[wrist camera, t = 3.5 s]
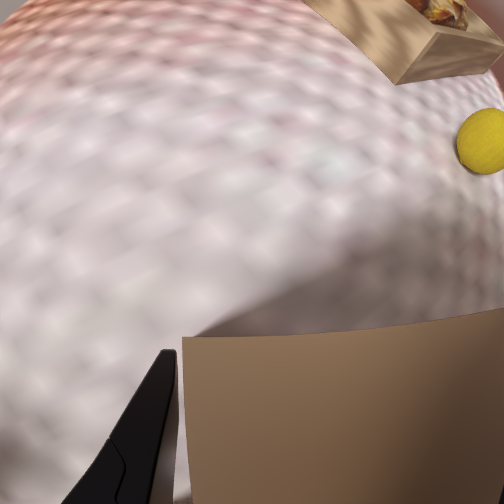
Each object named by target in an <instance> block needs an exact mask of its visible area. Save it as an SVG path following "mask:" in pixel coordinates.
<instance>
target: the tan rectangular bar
mask: <svg viewBox="0 0 504 504" xmlns="http://www.w3.org/2000/svg"><path fill="white" fill-rule="evenodd" d="M182 351H183V384H184V406H185V423H186V438H187V451H188V462H189V473H190V483H191V492H192V501H193V504H498V503H499V500H500V496H501V493H502V489H503V486H504V308H500V309H495V310H490V311H485V312H480V313H475V314H469V315H464V316H458V317H452V318H446V319H440V320H434V321H427V322H420V323H413V324H406V325H398V326H390V327H381V328H372V329H362V330H352V331H341V332H329V333H315V334H299V335H280V336H252V337H182Z"/></svg>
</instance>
